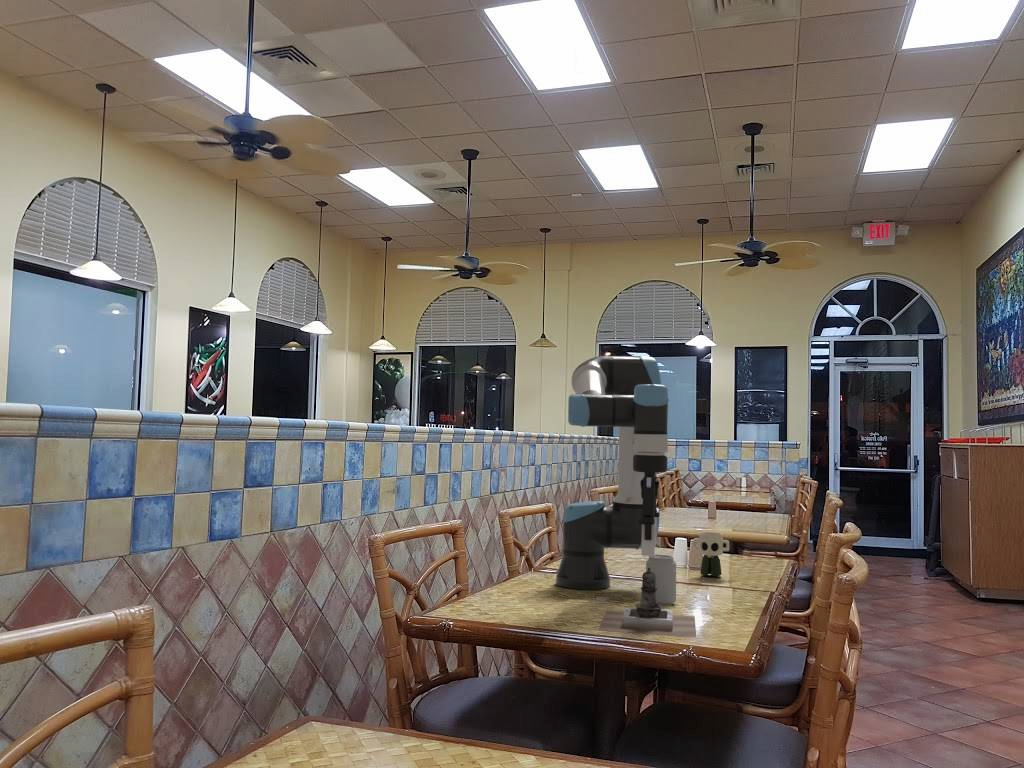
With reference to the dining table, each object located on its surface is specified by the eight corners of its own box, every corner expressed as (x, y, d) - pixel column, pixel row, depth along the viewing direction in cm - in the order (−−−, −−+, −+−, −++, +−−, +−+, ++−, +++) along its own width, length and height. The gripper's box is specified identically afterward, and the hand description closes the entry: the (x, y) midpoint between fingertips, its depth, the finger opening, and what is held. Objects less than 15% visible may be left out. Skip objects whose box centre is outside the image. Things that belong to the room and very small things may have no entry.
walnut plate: (606, 615, 186) (606, 610, 186) (694, 621, 182) (694, 616, 182) (598, 636, 167) (598, 630, 167) (696, 643, 163) (696, 637, 163)
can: (679, 606, 198) (679, 558, 199) (649, 606, 198) (649, 557, 198) (671, 600, 205) (672, 553, 206) (642, 600, 205) (643, 553, 206)
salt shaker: (634, 619, 178) (634, 564, 179) (661, 620, 177) (661, 565, 178) (635, 625, 172) (636, 568, 173) (663, 626, 171) (663, 570, 172)
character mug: (690, 576, 242) (691, 533, 243) (694, 573, 249) (695, 531, 250) (727, 579, 238) (727, 535, 239) (730, 576, 245) (730, 533, 246)
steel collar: (626, 616, 181) (626, 607, 181) (673, 619, 179) (673, 610, 179) (622, 626, 171) (623, 617, 171) (672, 630, 168) (672, 620, 169)
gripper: (636, 452, 190) (635, 542, 189) (629, 455, 166) (628, 558, 165) (668, 452, 188) (667, 543, 187) (666, 456, 164) (665, 560, 163)
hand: (649, 550), depth 176 cm, fingers open, 13 cm apart
